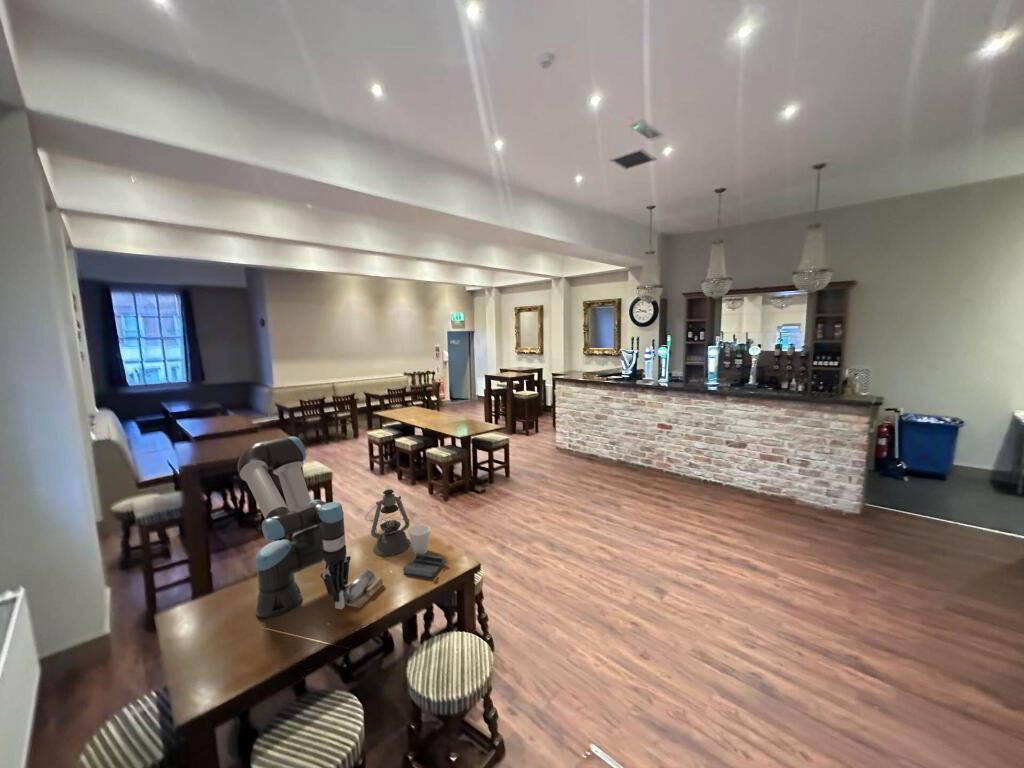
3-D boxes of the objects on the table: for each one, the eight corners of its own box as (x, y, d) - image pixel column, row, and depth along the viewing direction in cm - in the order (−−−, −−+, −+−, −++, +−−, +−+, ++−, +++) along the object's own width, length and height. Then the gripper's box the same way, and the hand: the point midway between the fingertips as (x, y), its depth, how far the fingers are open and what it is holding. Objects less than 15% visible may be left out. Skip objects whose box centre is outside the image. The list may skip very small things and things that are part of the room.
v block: (403, 575, 169) (403, 567, 169) (417, 560, 180) (417, 553, 179) (431, 580, 165) (431, 572, 165) (444, 564, 176) (443, 557, 176)
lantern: (393, 531, 206) (389, 475, 202) (419, 543, 194) (416, 483, 190) (362, 547, 192) (357, 487, 188) (388, 560, 180) (383, 497, 176)
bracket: (335, 603, 152) (334, 595, 152) (359, 581, 166) (358, 573, 165) (360, 608, 149) (359, 600, 149) (382, 585, 162) (382, 577, 162)
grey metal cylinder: (342, 602, 152) (341, 587, 152) (363, 582, 164) (361, 569, 163) (356, 604, 151) (355, 590, 150) (375, 585, 162) (374, 571, 161)
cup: (426, 559, 181) (425, 536, 179) (405, 557, 183) (404, 534, 181) (434, 547, 190) (433, 525, 189) (415, 545, 192) (413, 523, 191)
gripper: (330, 558, 136) (336, 621, 139) (355, 538, 149) (360, 597, 152) (311, 555, 138) (318, 617, 141) (338, 536, 151) (343, 594, 154)
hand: (340, 607), depth 147 cm, fingers closed
